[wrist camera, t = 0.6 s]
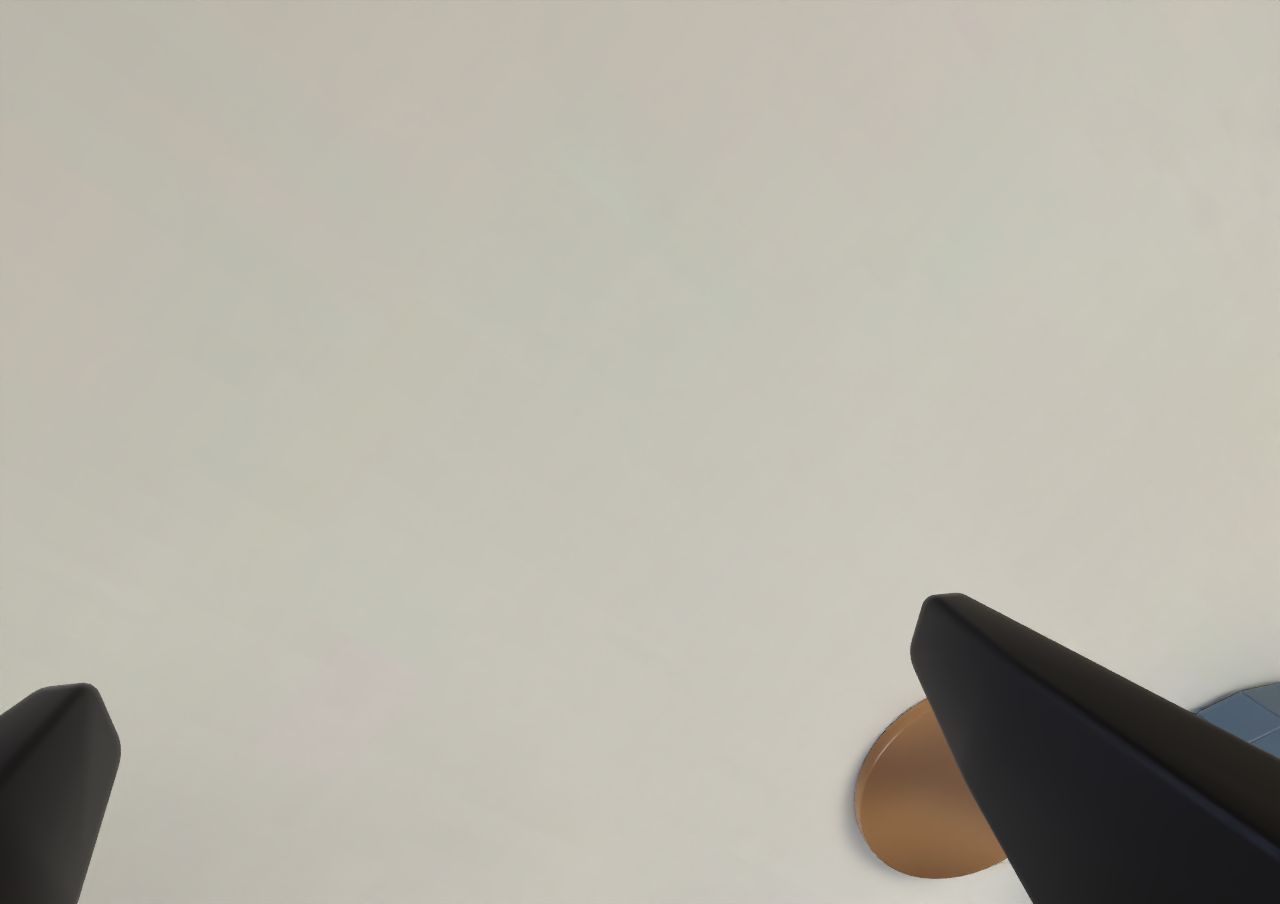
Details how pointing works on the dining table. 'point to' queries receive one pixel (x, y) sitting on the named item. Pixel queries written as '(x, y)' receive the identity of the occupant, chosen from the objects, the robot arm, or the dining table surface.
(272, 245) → the dining table surface
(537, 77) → the dining table surface
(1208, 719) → the bowl
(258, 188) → the dining table surface
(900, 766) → the cork coaster
